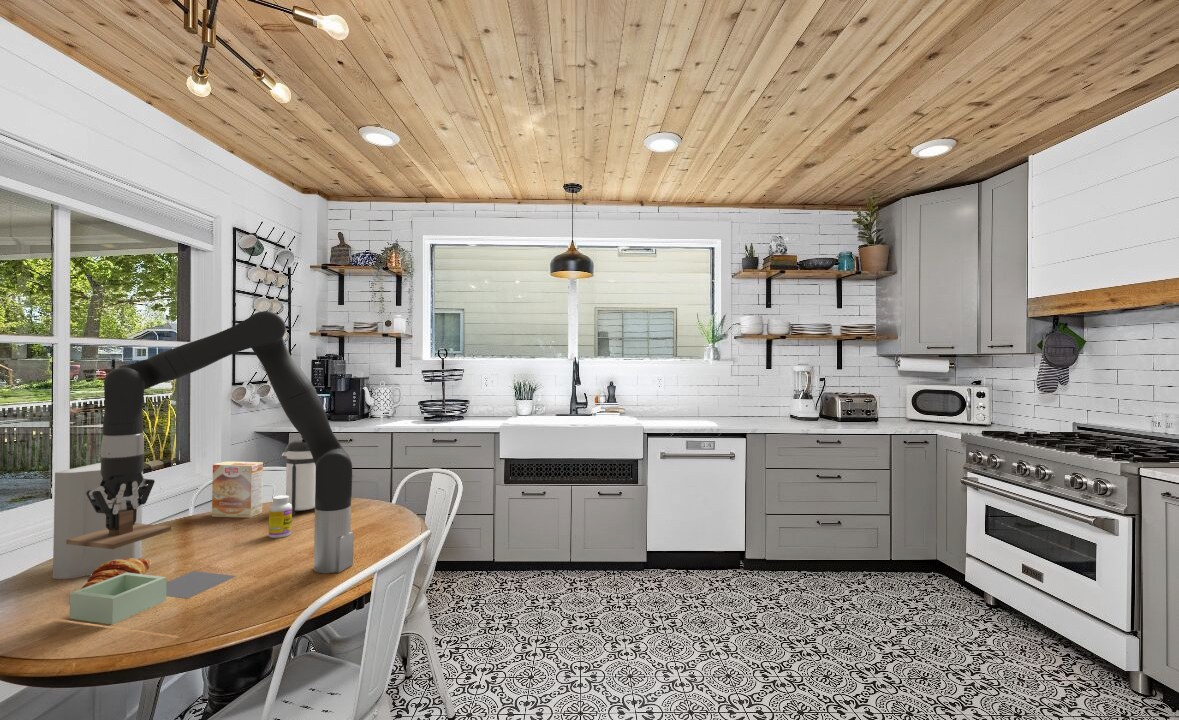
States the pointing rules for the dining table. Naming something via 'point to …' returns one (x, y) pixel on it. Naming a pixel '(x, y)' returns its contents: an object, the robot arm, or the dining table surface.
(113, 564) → the croissant
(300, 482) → the coffee press
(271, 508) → the supplement bottle
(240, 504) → the coffeecake box
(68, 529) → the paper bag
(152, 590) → the green box
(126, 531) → the lid
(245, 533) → the dining table surface
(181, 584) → the plate
